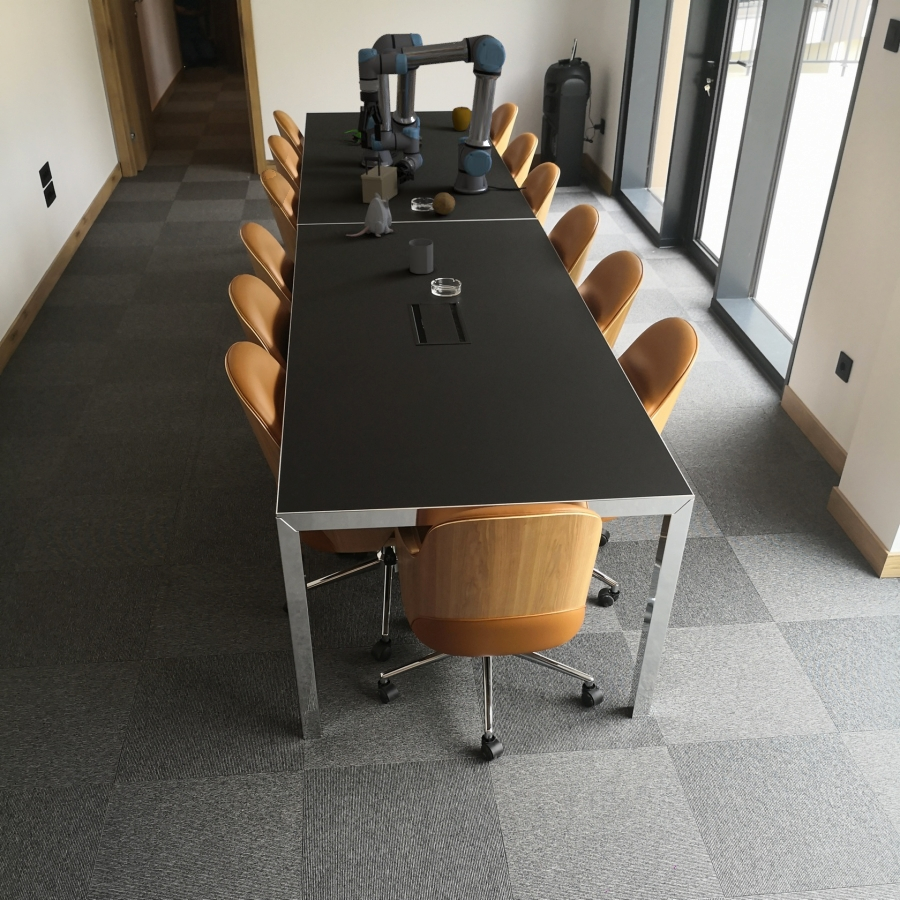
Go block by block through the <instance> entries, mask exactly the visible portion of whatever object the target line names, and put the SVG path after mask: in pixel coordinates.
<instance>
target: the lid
mask: <svg viewBox="0 0 900 900" xmlns="http://www.w3.org/2000/svg"><path fill="white" fill-rule="evenodd" d="M364 160H365V167H364V168H365V173H363V174H361V175H360V179H361V180H362V179H372V180H382V179H383V178H385V177H387V176H388V175H390V174H391V173H393V172H394V171H396V170H397V167H394V166H391V167H389V166H380V160H381V159H380V157H373V156H364ZM367 161H375V162H378V165H377V166H376V167H374V168H373V169H371V168H370V169H369V168H368V166H367ZM368 169H369V170H368Z"/></svg>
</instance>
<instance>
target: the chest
mask: <svg viewBox="0 0 900 900" xmlns="http://www.w3.org/2000/svg"><path fill="white" fill-rule="evenodd" d="M361 188H362V203H364V204H365V203H366V204H370V202H371V200H372V199H374V198H375V193H377V194H378V195H379V196H380V198H381V200H385V201H386V198H387V197H388V201H390V200H391V199H393V198H394V197H395V196H397V195H398V177H397V170H396V171H394V172H393V173H391V174H390V175H388V176H387V177H385V178H383V179H382V180H372V179H362V178H361Z"/></svg>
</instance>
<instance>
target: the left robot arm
mask: <svg viewBox="0 0 900 900" xmlns="http://www.w3.org/2000/svg"><path fill="white" fill-rule="evenodd" d="M423 45H424V43H423V39H422V36H421V34H419V33H414V32H413V33H412V32H410V33H384V34H383V35H381V36H379V37H378V38H377V39H376V40H375V42H374V43H373V45H372V47H371V48H372V49H376V51H377V54H382V52H383V51H384V50H385V49H387V48H393V49H397V48H405V47H414V46H423ZM419 68H420V66H413V67H407V73H406V74H400V75H398V74H396V75H397V76H396V79H397V80H396V102H395V104H396V105H395V110H394V111H393V113H391V112H392V111H391V93H390V92H391V91H390V74H382V75H378V90H377V91H378V94H379V106H380V110H381V114H382V118H383V125H381V141H375V134H374V125H376V124H375V122H374V120H373V118H372V115H371V117H370V118H369V122H368V127H367V131H366V132H367V133H368V149H364V151H363V155H362V159H361V166H362V167H363V168H365V160H364V156H373V157H380V159H381V160H380V166H389V167H397V178H399V185H403V184H404V183H406V182H408V181H409V182H410V181H415V173H414V172H416V171H417V170H419V168H420V167H422V165H423V157H422V155H421V154H420V129H421V128H420V127H421V120H420V117H419V116H418V115H417V113H416V112H415V101H416V86H417V85H416V84H417V83H416V81H417V70H418V69H419ZM391 115H392V116H391ZM390 151H394V154H392V155H391V152H390ZM397 151H402V153H403V158H402V159H400V160H399V161H397V162H395V164H394V161H393V158H394V157H396V156H397ZM377 165H378V162H375V161H367V166H368V169H370V170H371V169H373V168H374V167H376V166H377Z"/></svg>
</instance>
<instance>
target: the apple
mask: <svg viewBox="0 0 900 900" xmlns="http://www.w3.org/2000/svg"><path fill="white" fill-rule="evenodd" d="M471 115H472V110H471V108H469V107H467V106H462V105H461V106H457V107H454V108H452V111H451V121H452V125H453V128H454V129H455V131H457V132H463V131H466V130H467V129H468V128H469V127H470V123H471Z"/></svg>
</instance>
